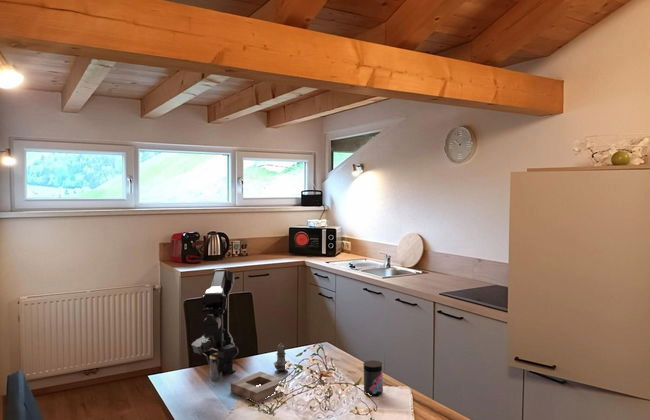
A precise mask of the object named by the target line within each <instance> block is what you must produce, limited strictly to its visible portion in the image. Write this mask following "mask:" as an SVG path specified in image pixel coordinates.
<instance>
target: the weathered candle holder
mask: <svg viewBox="0 0 650 420" xmlns="http://www.w3.org/2000/svg"><path fill="white" fill-rule="evenodd" d="M285 347H286V346H285V344H282V342H280V343H279V344H278V345H277V347H276V351H277V353H276V359H277V360H276V361H275V362H273V365H274V368H275V369H276V370H274V374H275V375H280V376H281V375H282V376H283V375H286V374H288V373H289V371H288V370H287V368H286V369H285V364H286V363H287V362H288V361H287V360H286V354H287V353H286V352H285V351H286V350H285Z"/></svg>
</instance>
